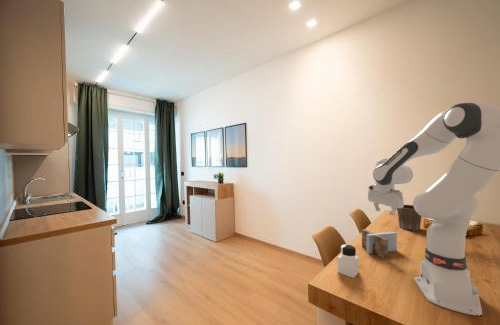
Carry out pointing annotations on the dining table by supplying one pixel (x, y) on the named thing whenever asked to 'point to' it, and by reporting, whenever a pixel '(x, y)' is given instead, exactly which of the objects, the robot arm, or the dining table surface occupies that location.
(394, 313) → the dining table surface
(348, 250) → the medicine bottle
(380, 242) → the walnut board
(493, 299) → the dining table surface
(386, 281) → the dining table surface
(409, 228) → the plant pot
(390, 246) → the light blue notched panel
